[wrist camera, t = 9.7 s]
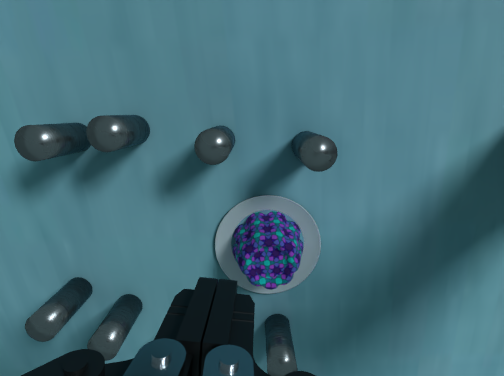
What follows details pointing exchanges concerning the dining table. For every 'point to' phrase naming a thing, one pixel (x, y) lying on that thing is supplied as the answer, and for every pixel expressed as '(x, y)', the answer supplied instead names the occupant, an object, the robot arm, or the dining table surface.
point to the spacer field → (129, 306)
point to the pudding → (268, 245)
